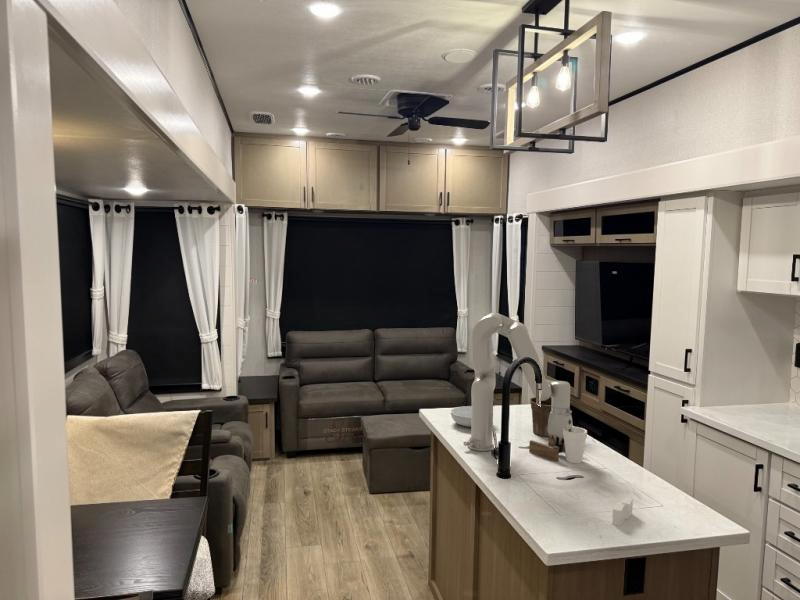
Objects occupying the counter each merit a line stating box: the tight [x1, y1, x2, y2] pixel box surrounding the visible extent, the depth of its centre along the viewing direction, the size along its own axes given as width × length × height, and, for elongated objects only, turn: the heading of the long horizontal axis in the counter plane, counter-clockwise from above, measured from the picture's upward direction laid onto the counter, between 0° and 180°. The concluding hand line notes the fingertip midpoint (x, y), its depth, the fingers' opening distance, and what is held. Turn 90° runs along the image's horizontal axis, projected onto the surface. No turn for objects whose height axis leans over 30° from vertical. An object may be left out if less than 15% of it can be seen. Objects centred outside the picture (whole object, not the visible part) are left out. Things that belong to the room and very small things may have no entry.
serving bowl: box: [450, 405, 472, 428], centre depth 273 cm, size 21×21×7 cm
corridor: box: [528, 436, 565, 463], centre depth 232 cm, size 15×14×6 cm
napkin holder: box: [611, 497, 634, 527], centre depth 172 cm, size 15×11×6 cm
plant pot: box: [529, 396, 552, 438], centre depth 259 cm, size 16×16×16 cm
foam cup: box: [563, 426, 588, 464], centre depth 223 cm, size 10×9×13 cm
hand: (558, 452), depth 230 cm, fingers closed
